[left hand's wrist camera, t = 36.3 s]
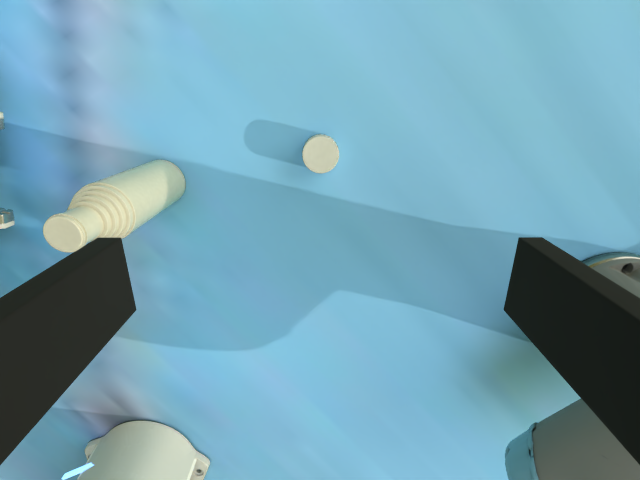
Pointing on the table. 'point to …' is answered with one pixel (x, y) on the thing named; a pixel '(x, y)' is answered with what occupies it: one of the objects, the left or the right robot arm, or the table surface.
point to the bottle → (115, 205)
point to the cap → (320, 153)
